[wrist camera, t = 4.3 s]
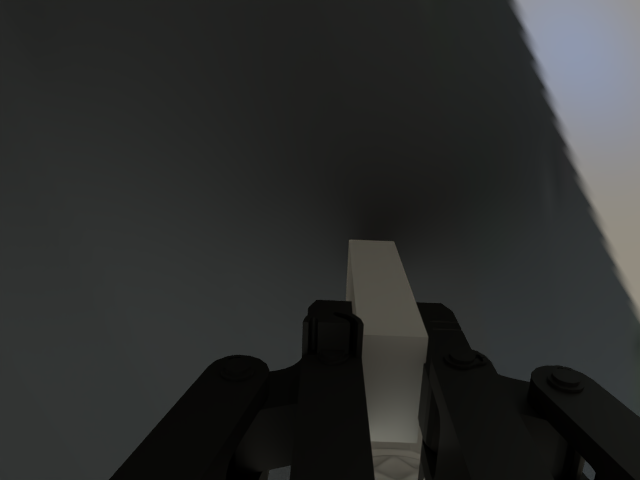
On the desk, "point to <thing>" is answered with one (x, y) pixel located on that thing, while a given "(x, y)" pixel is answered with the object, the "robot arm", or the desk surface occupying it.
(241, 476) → the robot arm
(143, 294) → the desk surface
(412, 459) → the white cup
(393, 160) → the desk surface
